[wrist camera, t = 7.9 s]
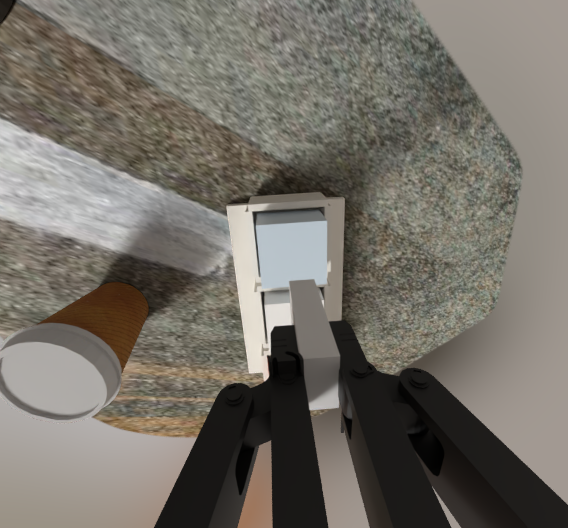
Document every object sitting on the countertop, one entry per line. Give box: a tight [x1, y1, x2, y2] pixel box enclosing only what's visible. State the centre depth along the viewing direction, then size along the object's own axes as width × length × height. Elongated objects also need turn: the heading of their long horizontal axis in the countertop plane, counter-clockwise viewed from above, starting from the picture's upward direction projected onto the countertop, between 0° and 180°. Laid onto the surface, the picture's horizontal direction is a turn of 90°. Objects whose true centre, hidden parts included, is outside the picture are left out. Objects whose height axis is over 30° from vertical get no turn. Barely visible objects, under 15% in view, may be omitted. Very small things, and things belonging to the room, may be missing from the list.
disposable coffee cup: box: [0, 282, 149, 423], centre depth 28 cm, size 10×10×12 cm
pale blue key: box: [256, 209, 327, 289], centre depth 25 cm, size 6×6×4 cm
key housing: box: [226, 192, 345, 382], centre depth 32 cm, size 24×12×5 cm, turn 3°
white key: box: [264, 287, 324, 352], centre depth 30 cm, size 6×6×4 cm
